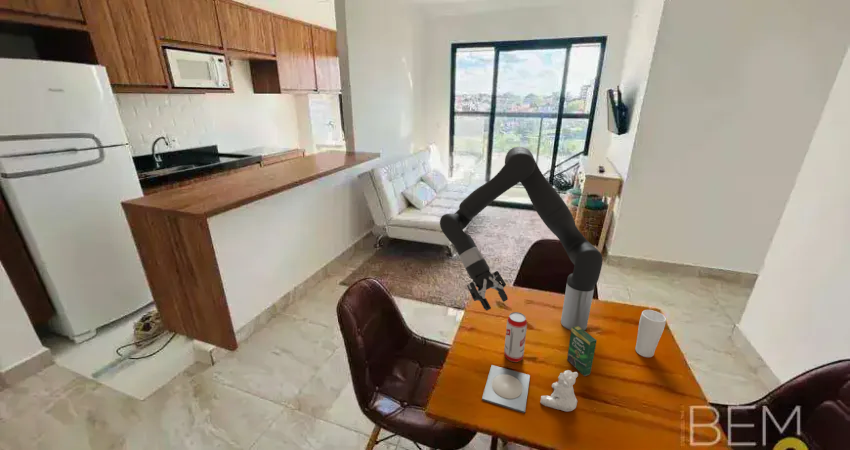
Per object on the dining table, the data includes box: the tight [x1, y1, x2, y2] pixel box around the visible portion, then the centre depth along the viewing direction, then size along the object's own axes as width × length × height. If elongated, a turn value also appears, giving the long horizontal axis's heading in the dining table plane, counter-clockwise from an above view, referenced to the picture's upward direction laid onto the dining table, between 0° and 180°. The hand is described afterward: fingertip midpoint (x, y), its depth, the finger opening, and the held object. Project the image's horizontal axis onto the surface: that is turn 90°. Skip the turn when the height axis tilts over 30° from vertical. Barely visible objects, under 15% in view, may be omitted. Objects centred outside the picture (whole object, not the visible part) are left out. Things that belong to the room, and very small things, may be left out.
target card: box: [481, 364, 531, 414], centre depth 100 cm, size 14×12×1 cm
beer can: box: [503, 311, 528, 363], centre depth 110 cm, size 6×6×16 cm
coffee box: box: [566, 326, 597, 377], centre depth 106 cm, size 8×3×13 cm, turn 19°
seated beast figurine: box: [539, 369, 579, 412], centre depth 93 cm, size 10×9×12 cm
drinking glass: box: [634, 309, 667, 358], centre depth 111 cm, size 7×7×15 cm
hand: (497, 305), depth 113 cm, fingers open, 8 cm apart
